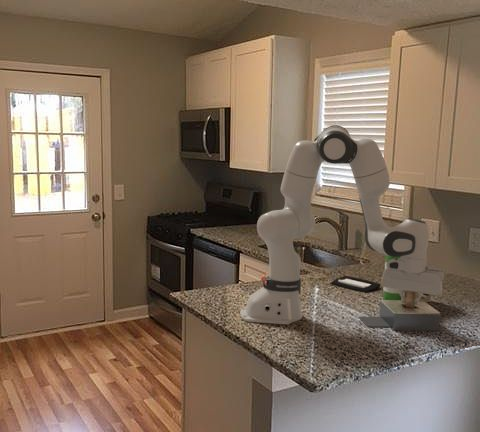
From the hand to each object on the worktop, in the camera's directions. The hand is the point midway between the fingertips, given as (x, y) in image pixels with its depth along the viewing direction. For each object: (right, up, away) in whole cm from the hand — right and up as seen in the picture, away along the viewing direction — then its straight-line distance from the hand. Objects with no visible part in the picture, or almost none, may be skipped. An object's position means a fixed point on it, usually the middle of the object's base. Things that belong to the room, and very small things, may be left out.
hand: (409, 303), depth 184 cm
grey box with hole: (0, -8, +1) cm, 8 cm away
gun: (+9, -5, +21) cm, 23 cm away
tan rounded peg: (0, -4, 0) cm, 4 cm away
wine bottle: (+3, -4, +30) cm, 31 cm away
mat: (-12, -7, +1) cm, 14 cm away
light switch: (-9, -1, +49) cm, 49 cm away
